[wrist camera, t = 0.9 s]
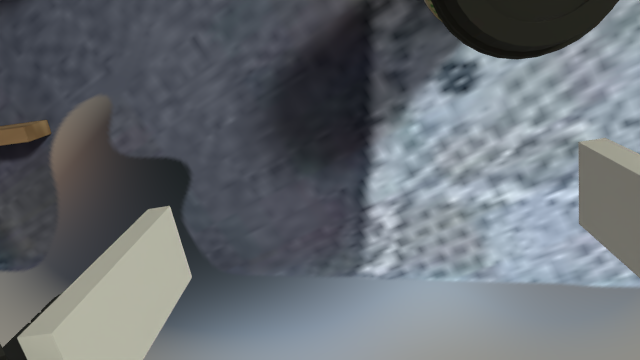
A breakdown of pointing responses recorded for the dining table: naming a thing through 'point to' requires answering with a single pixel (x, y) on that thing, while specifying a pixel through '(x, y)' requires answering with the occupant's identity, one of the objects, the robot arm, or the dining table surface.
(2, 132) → the bay
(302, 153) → the dining table surface
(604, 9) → the coffee cup
